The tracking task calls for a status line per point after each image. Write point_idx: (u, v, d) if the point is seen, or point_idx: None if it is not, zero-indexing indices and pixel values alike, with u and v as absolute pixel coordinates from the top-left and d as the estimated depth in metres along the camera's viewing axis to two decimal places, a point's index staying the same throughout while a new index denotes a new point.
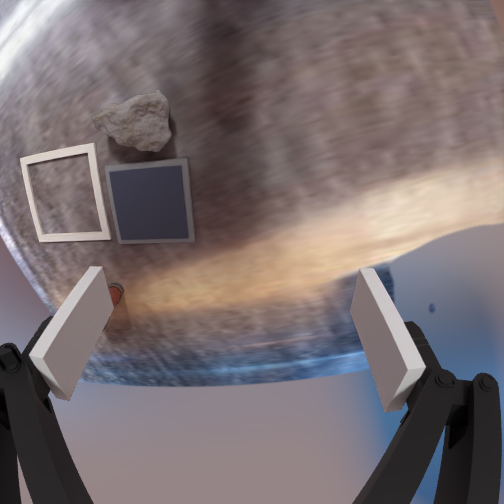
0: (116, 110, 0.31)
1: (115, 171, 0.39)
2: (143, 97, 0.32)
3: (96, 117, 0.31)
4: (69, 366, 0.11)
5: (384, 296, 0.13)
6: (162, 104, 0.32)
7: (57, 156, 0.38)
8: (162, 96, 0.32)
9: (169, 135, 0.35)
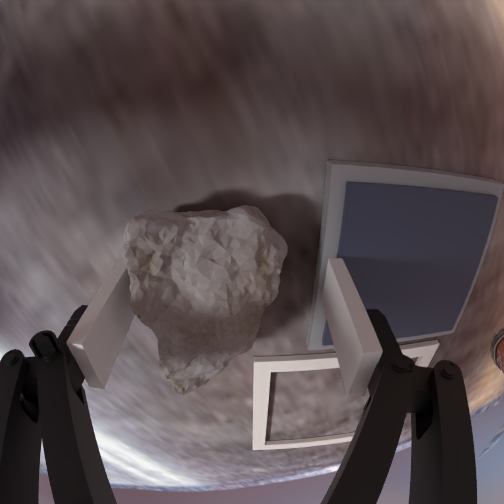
0: None
1: (324, 333, 0.19)
2: None
3: (176, 389, 0.15)
4: (104, 354, 0.12)
5: (349, 284, 0.14)
6: (137, 239, 0.12)
7: (265, 411, 0.24)
8: (125, 233, 0.13)
9: (242, 214, 0.13)
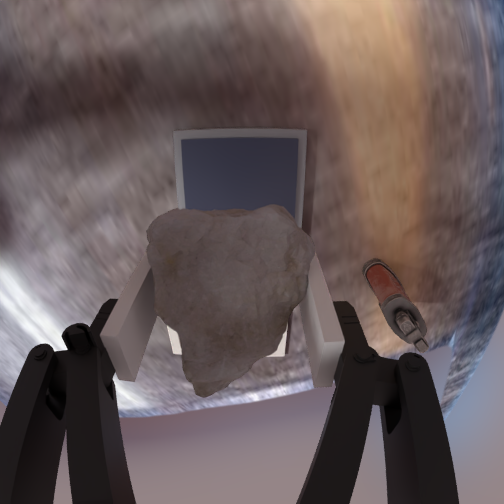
0: None
1: None
2: None
3: (197, 392, 0.15)
4: (135, 346, 0.12)
5: (319, 276, 0.14)
6: (164, 238, 0.11)
7: None
8: (149, 232, 0.12)
9: (271, 214, 0.13)
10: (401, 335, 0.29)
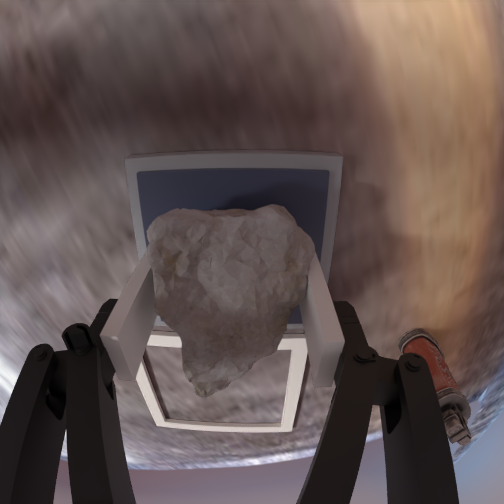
0: None
1: None
2: (154, 280, 0.14)
3: (197, 392, 0.15)
4: (135, 346, 0.12)
5: (319, 276, 0.14)
6: (164, 238, 0.11)
7: (148, 385, 0.26)
8: (149, 232, 0.12)
9: (271, 214, 0.13)
10: None
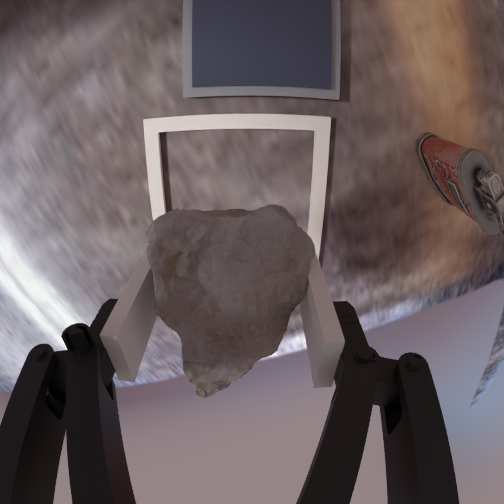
0: None
1: (192, 75, 0.20)
2: (154, 281, 0.14)
3: (198, 392, 0.15)
4: (135, 346, 0.12)
5: (319, 276, 0.14)
6: (164, 239, 0.11)
7: (161, 196, 0.26)
8: (149, 232, 0.12)
9: (271, 214, 0.13)
10: (481, 217, 0.19)
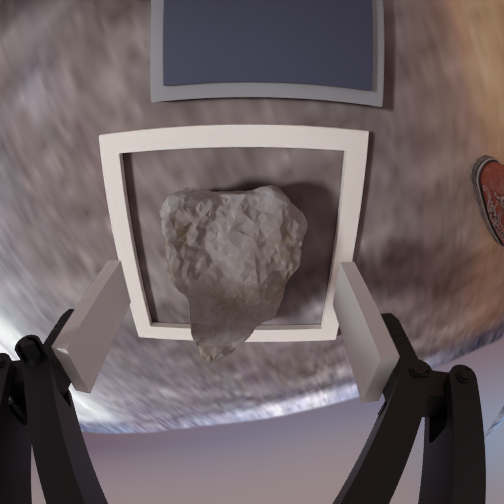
0: (191, 317, 0.16)
1: (163, 68, 0.13)
2: None
3: (204, 357, 0.17)
4: (90, 358, 0.11)
5: (362, 288, 0.13)
6: (176, 211, 0.13)
7: (129, 241, 0.19)
8: (163, 208, 0.14)
9: (268, 191, 0.15)
10: None
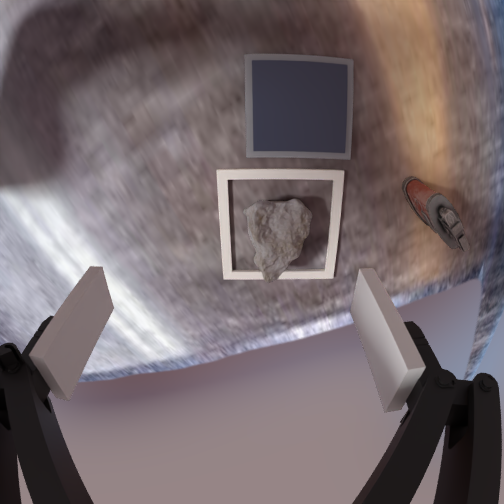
0: (261, 257, 0.36)
1: (253, 142, 0.33)
2: (250, 228, 0.36)
3: (265, 279, 0.37)
4: (69, 366, 0.11)
5: (384, 296, 0.13)
6: (259, 210, 0.34)
7: (227, 223, 0.39)
8: (250, 208, 0.35)
9: (295, 201, 0.35)
10: (444, 237, 0.31)
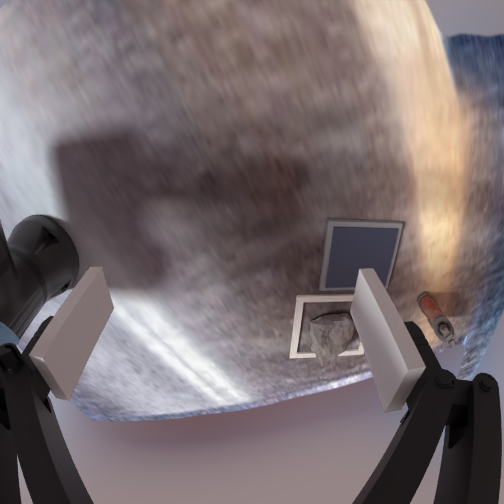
0: (321, 354, 0.51)
1: (326, 282, 0.48)
2: (315, 336, 0.51)
3: (322, 365, 0.52)
4: (69, 366, 0.11)
5: (384, 296, 0.13)
6: (324, 328, 0.49)
7: (299, 327, 0.54)
8: (318, 326, 0.50)
9: (346, 319, 0.50)
10: (440, 337, 0.47)
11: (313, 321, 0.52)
